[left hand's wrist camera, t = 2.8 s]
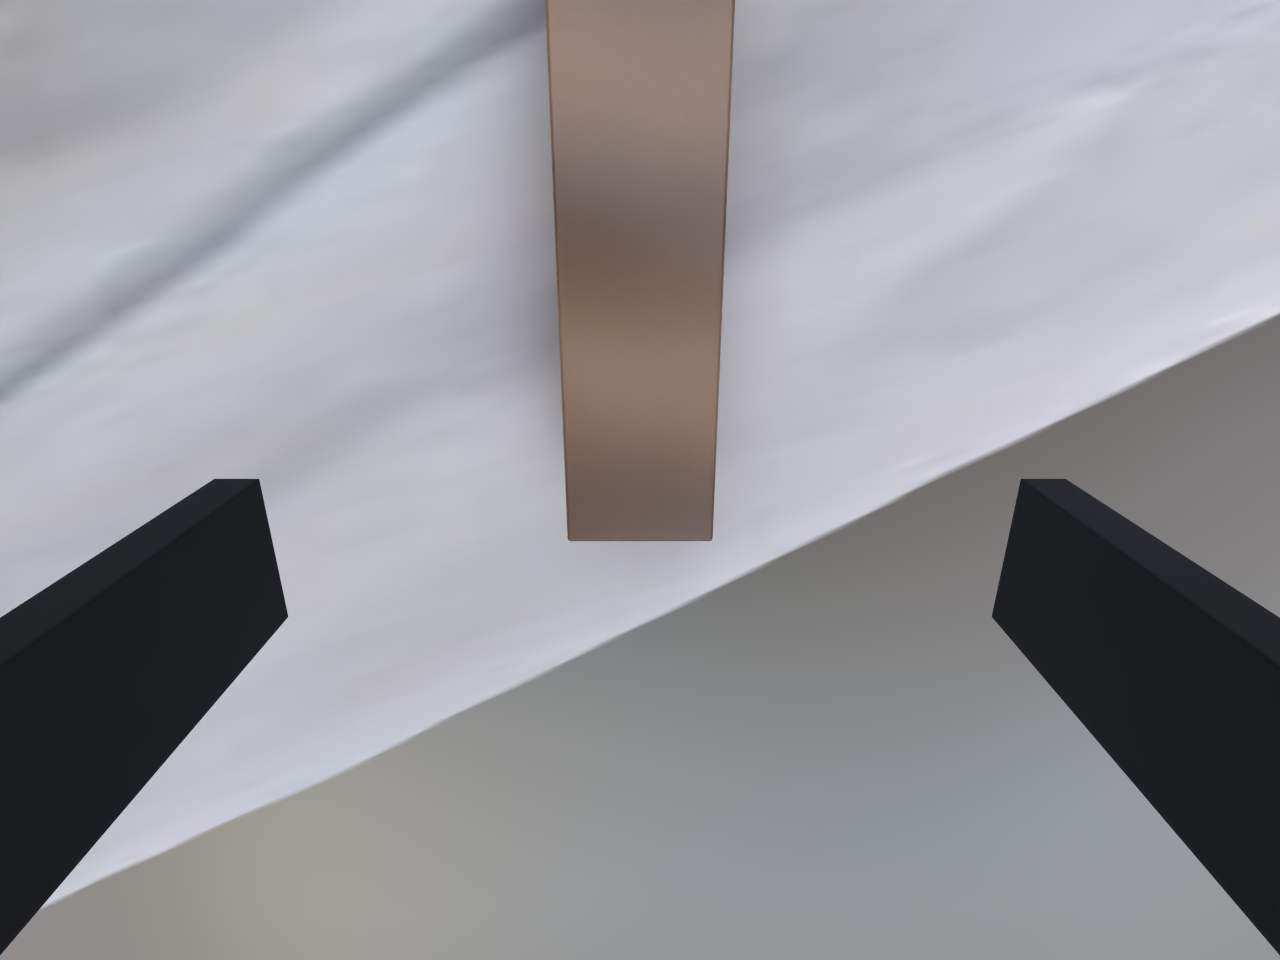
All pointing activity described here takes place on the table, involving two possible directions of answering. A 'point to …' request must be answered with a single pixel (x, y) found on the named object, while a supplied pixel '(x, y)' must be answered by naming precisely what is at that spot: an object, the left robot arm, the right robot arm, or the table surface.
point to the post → (640, 258)
